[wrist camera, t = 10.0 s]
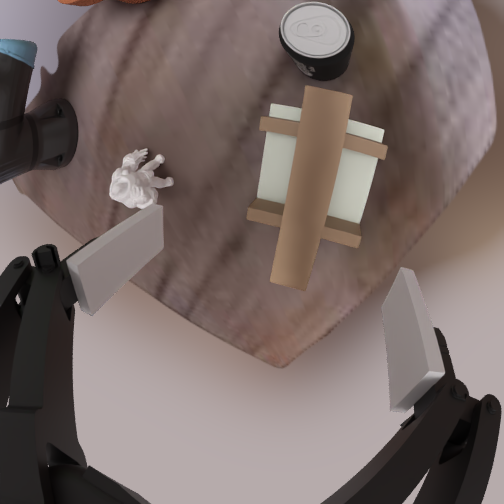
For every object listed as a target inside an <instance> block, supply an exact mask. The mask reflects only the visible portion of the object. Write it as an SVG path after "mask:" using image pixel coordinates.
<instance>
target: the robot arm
mask: <svg viewBox="0 0 504 504" xmlns="http://www.w3.org/2000/svg"><path fill="white" fill-rule="evenodd" d="M36 53H37V46H36V44H35V43H34V42H31V41H25V40H15V39H0V184H2V183H4V182H6V181H8V180H10V179H12V178H15V177H17V176H19V175H21V174H24V173H26V172H28V171H31V170H55V169H58V168H61V167H64V166H66V165H67V164H68V163H69V162H70V161H71V159H72V157H73V155H74V153H75V149H76V145H77V137H78V128H77V120H76V116H75V113H74V110H73V108H72V106H71V105H70V103H69V102H68V101H66V100H64V99H54V100H50V101H48V102H46V103H44V104H42V105H41V106H39V107H37V108H35V109H34V110H32V111H31V112H29V113H26V114H24V112H25V106H26V99H27V94H28V89H29V83H30V80H31V75H32V71H33V69H34V62H35V57H36ZM163 248H164V239H163V206H161V205H157V204H150V205H149V206H147V207H145V208H144V209H142V210H140V211H139V212H137V213H135V214H134V215H132V216H131V217H129V218H127V219H126V220H124V221H123V222H121V223H120V224H118V225H117V226H115V227H113V228H112V229H110V230H109V231H107V232H106V233H104V234H103V235H101V236H99V237H97V238H94V239H92V240H90V241H89V242H87V243H86V244H85V245H83V246H82V247H80V248H79V249H77V250H76V251H75V252H73V253H72V254H70V255H69V256H68V257H66V258H65V259H63V260H62V261H61V262H60V259H59V255H58V251H57V247H56V246H55V245H52V244H46V245H42V246H40V247H38V248H37V249H35V250H34V251H33V253H32V257H33V260H34V263H35V267H34V266H31V263H30V260H29V258H28V257H26V256H20V257H17V258H15V259H14V260H12V262H10V264H9V265H8V266H7V267H6V269H5V270H4V272H3V273H2V274H1V276H0V504H150V503H149V502H148V501H147V500H145V499H144V498H143V497H142V496H140V495H139V494H138V493H136V492H134V491H132V490H130V489H128V488H127V487H125V486H123V485H121V484H119V483H118V482H116V481H115V480H113V479H111V478H109V477H107V476H106V475H104V474H102V473H101V472H99V471H97V470H96V469H94V468H93V467H91V466H88V468H87V463H86V459H85V455H84V452H83V450H82V448H81V446H80V444H79V442H78V438H77V431H76V423H75V412H74V399H73V375H72V374H73V371H72V370H73V368H72V366H73V365H72V360H73V357H72V355H73V331H74V316H75V308H74V305H73V304H74V303H76V302H77V301H78V303H79V305H80V308H81V310H82V311H83V312H85V313H87V314H89V315H91V316H93V315H94V314H95V313H96V312H97V311H98V310H99V309H100V308H101V307H102V306H103V305H104V304H105V303H106V302H107V301H108V300H109V299H110V298H111V297H112V296H113V295H114V294H115V293H116V292H117V291H118V290H119V289H120V288H121V287H122V286H123V285H124V284H125V283H126V282H127V281H129V280H130V279H131V278H132V277H133V276H134V275H135V274H136V273H137V272H138V271H139V270H140V269H141V268H142V267H144V266H145V265H146V264H147V263H148V262H149V261H150V260H151V259H152V258H153V257H154V256H156V255H157V254H158V253H159V252H160V251H161V250H162V249H163ZM17 294H18V296H19V298H20V303H19V304H17V302H16V299H15V298H16V296H17ZM381 309H382V317H383V325H384V332H385V341H386V351H387V362H388V375H389V391H390V411H393V412H404V413H405V412H407V411H408V410H409V409H410V408H411V407H412V406H413V405H414V414H413V415H412V416H411V417H409V418H408V419H407V420H406V421H404V422H403V423H402V424H401V425H400V426H401V428H400V430H399V431H398V432H397V433H396V434H395V436H394V437H393V438H392V439H391V440H390V441H389V442H388V443H387V444H386V445H385V446H384V447H383V449H382V450H381V451H380V452H379V453H378V454H377V455H376V456H375V457H374V458H373V459H372V460H371V461H370V462H369V463H368V464H367V465H366V466H365V467H364V468H363V469H361V470H360V471H359V472H358V473H357V474H356V475H355V476H354V477H353V478H352V479H351V480H349V481H348V482H347V483H346V484H345V485H343V486H342V487H341V488H340V489H339V490H338V491H336V492H335V493H334V494H333V495H332V496H330V497H329V498H327V499H326V500H325V501H324V502H322V503H321V504H402V503H403V502H404V501H405V500H406V498H407V497H408V496H409V495H410V494H411V492H412V491H413V490H414V488H415V487H416V486H417V485H418V484H419V482H420V481H421V480H422V478H423V477H424V475H425V474H426V473H427V471H428V469H429V472H428V474H427V476H426V478H425V481H424V483H423V485H422V487H421V489H420V491H419V493H418V495H417V497H416V499H415V501H414V503H413V504H481V503H482V500H483V497H484V494H485V491H486V488H487V484H488V481H489V477H490V474H491V470H492V466H493V462H494V457H495V452H496V446H497V441H498V435H499V428H500V421H501V405H500V402H499V400H498V399H497V398H496V397H495V396H494V395H491V394H487V395H485V397H483V398H482V399H481V400H480V401H479V400H477V399H475V398H472V397H470V396H469V392H468V389H467V387H466V386H465V385H464V383H463V382H461V381H460V380H458V379H456V377H455V373H454V370H453V365H452V362H451V358H450V355H449V350H448V348H447V344H446V340H445V337H444V336H443V334H442V333H441V331H440V330H439V328H435V327H433V325H432V322H431V318H430V315H429V312H428V309H427V306H426V303H425V300H424V298H423V295H422V292H421V289H420V287H419V284H418V281H417V279H416V276H415V274H414V271H413V270H410V269H407V268H403V267H401V268H400V270H399V272H398V274H397V277H396V279H395V281H394V283H393V285H392V287H391V289H390V291H389V293H388V295H387V297H386V299H385V301H384V303H383V305H382V307H381ZM8 398H9V405H8V407H6V406H7V402H8ZM48 465H49V467H48Z"/></svg>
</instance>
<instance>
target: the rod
mask: <svg viewBox="0 0 504 504" xmlns="http://www.w3.org/2000/svg"><path fill="white" fill-rule="evenodd" d="M352 97H353V95H349V94H345V93H340V92H336V91H332V90H327V89H322V88H317V87H312V86H307V85H306V86H305V92H304V98H303V105H302V111H301V117H300V123H299V129H298V134H297V140H296V146H295V152H294V157H293V163H292V169H291V174H290V180H289V185H288V190H287V196H286V201H285V206H284V212H283V217H282V222H281V227H280V232H279V237H278V242H277V247H276V252H275V257H274V262H273V267H272V272H271V277H270V282H273V283H276V284H280V285H284V286H287V287H291V288H295V289H298V290H302V291H306V288H307V284H308V281H309V278H310V274H311V271H312V268H313V264H314V261H315V257H316V254H317V250H318V247H319V243H320V240H321V236H322V232H323V229H324V225H325V221H326V217H327V213H328V209H329V205H330V201H331V197H332V193H333V189H334V185H335V181H336V176H337V172H338V168H339V163H340V158H341V154H342V149H343V144H344V140H345V135H346V130H347V124H348V119H349V114H350V108H351V103H352Z"/></svg>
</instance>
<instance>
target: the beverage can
mask: <svg viewBox="0 0 504 504" xmlns="http://www.w3.org/2000/svg"><path fill="white" fill-rule="evenodd" d="M279 38H280V42H281V44H282V46H283V48H284V49H285V50H286V52H287V53H288V54H289V56H290V57H291V58H292V60H293V61H294V62H295V64H296V65H297V66H298V68H299V69H300V70H301V71H302V72H303V73H304V74H305V75H307V76H309V77H311V78H313V79H316V80H331V79H335V78H337V77H339V76H340V75H341V74H343V73H344V71H345V70H346V69H347V66H348V63H349V60H350V56H351V52H352V49H353V45H354V31H353V28H352V26H351V24H350V22H349V21H348V20H347V19H346V17H345V16H344V15H343V14H342V13H341V12H340V11H338V10H337V9H336V8H334V7H332V6H330V5H327V4H324V3H320V2H305V3H301V4H298V5H296V6H294V7H292V8H291V9H290V10H288V11H287V12H286V14H285V15H284V17H283V19H282V21H281V24H280V28H279Z"/></svg>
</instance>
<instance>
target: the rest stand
mask: <svg viewBox="0 0 504 504" xmlns="http://www.w3.org/2000/svg"><path fill="white" fill-rule="evenodd" d="M301 111H302V109H301V108H296V107H290V106H285V105H278V104H272V103H271V108H270V114H269V116H261V120H260V126H259V130H262V131H267V134H266V140H265V147H264V153H263V160H262V167H261V173H260V180H259V186H258V193H257V198H256V199H255V200H254V201H253V202H252V203H251V205H250V206H249V207H248V211H247V218H246V219H247V220H251V221H255V222H259V223H263V224H267V225H271V226H275V227H279V228H280V227H281V222H282V217H283V212H284V206H285V201H286V196H287V190H288V185H289V180H290V174H291V169H292V163H293V157H294V152H295V146H296V140H297V134H298V129H299V123H300V117H301ZM383 134H384V130H383V129H380V128H377V127H374V126H370V125H367V124H364V123H360V122H357V121H353V120H349V119H348V124H347V130H346V135H345V140H344V144H343V149H342V154H341V158H340V163H339V168H338V172H337V176H336V181H335V185H334V189H333V193H332V197H331V201H330V205H329V209H328V213H327V217H326V221H325V225H324V229H323V232H322V236H321V238H322V239H325V240H329V241H333V242H336V243H340V244H344V245H347V246H351V247H354V248H358V246H359V243H360V241H361V238H362V235H361V230H360V221H361V217H362V214H363V211H364V207H365V204H366V201H367V197H368V194H369V190H370V187H371V183H372V179H373V176H374V172H375V168H376V164H377V160H378V158H379V159H382V160H385V156H386V152H387V148H388V146H386V145H385V144H383V143H382V139H383Z"/></svg>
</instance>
